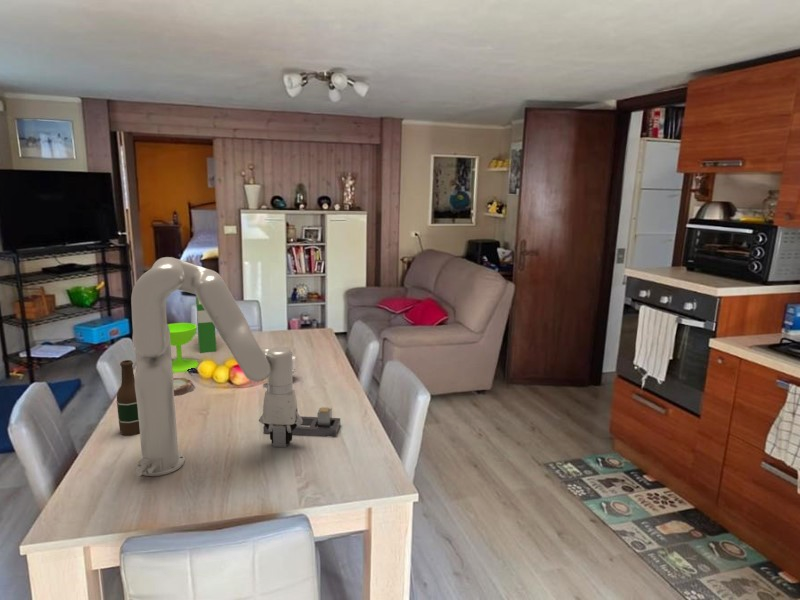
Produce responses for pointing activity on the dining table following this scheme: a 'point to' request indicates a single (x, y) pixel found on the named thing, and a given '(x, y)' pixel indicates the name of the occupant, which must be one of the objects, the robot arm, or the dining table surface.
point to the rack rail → (314, 428)
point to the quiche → (182, 386)
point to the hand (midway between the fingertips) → (281, 441)
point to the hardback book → (205, 330)
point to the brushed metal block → (279, 435)
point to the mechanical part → (293, 364)
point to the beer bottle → (127, 401)
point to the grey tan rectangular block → (325, 417)
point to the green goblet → (178, 337)
